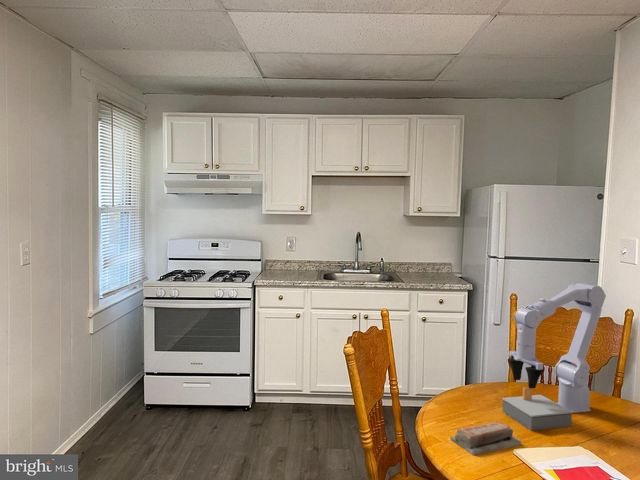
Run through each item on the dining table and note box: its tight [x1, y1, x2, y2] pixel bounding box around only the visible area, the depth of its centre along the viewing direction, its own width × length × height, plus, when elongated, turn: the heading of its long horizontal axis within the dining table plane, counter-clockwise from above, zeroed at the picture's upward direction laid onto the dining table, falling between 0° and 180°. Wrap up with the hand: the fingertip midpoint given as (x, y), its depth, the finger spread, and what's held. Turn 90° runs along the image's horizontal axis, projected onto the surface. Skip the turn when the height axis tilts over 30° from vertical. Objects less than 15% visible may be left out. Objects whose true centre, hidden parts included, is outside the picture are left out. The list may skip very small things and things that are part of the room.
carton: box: [501, 399, 573, 432], centre depth 155 cm, size 15×14×4 cm
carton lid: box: [502, 386, 573, 417], centre depth 155 cm, size 15×14×4 cm
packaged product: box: [449, 422, 522, 456], centre depth 139 cm, size 18×5×10 cm
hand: (524, 383), depth 159 cm, fingers open, 7 cm apart
